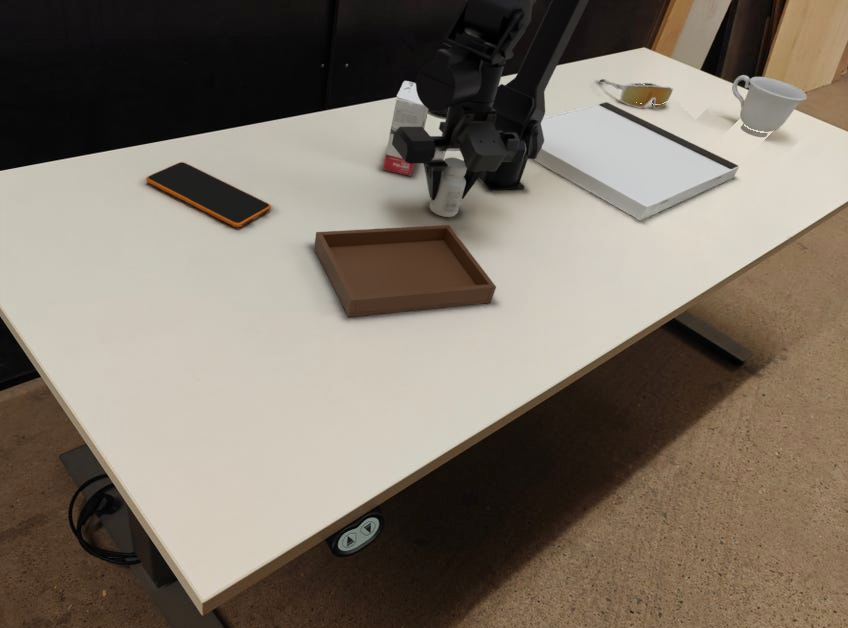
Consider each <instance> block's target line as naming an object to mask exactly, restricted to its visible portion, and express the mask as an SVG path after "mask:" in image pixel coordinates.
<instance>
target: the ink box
mask: <svg viewBox="0 0 848 628" xmlns="http://www.w3.org/2000/svg"><path fill="white" fill-rule="evenodd" d="M395 100H396V101H395V105H394V110H393V116H392V120H391V125H390V131H389V136H388V142H387V147H386V152H385V158H384V162H383V169H382V170H384V171H387V172H388V171H389V172H393V173H397V174H400V175H404V176H405V175H406V176H410V177H411V176H412V175H413V172H414V171H413V170H414V168H415V166H416V163H412V164H410V163H408V162H405V161H404V159H403V158H402V157H401V155H400V154H399V153H398V152H397V150H396V149H395V148H394V146H393V145H392V141H393V136H394V133H395V131H396V130H397V129H398V128H399V127H423V128H424V129H425V127H426V122H427V118H428V113H429V109H428V108H427V107H426V106H424V105H423V103H422V102H421V101H420V99H419V97H418V94H417V90H416V82H413V81H409V80H404V81H403V82H402V83H401V86H400V88H399V91H398V92H397V94H396V99H395Z"/></svg>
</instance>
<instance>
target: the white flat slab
mask: <svg viewBox="0 0 848 628" xmlns="http://www.w3.org/2000/svg"><path fill="white" fill-rule="evenodd" d="M541 127H542V132H543V136H544V143H543V145H542V148H541V150H540V151H539V153H538V154H537V157H536V159H532V160H533V161H535V162H537V164H540V165H542V166H543V167H545V168H547V169H549V170H550V171H552V172H554V173H556V174H558V175H559V176H561V177H563V178H565V179H566V180H568V181H569V182H572V183H574V184H575V185H577V186H579V187H581V188H582V189H584V190H586V191H587V192H589V193H591V194H593V195H594V196H596V197H598V198H599V199H602V200H603V201H605V202H606V203H608V204H610V205H612V206H613V207H616V208H617V209H619V210H621V211H623V212H624V213H626V214H628V215H630V216H631V217H633V218H635V219H637V220H638V221H643V220H645V219H647V218H649V217H652V216H654V215H656V214H658V213H660V212H662V211H664V210H666V209H668V208H671V207H673V206H675V205H677V204H680V203H682V202H684V201H686V200H688V199H690V198H693V197H695V196H697V195H699V194H701V193H704V192H705V191H708V190H711V189H712V188H714V187H716V186H719V185H721V184H723V183H724V182H727V181H729V180H731V179H733V178H734V177H735V175H736V174H737V172H738V170H739V169H740V166H739V165H738V164H736V163H734V162H732V161H730V160H728V159H725V158H723V157H722V156H720V155H718V154H716V153H714V152H711V151H709V150H707V149H705V148H703V147H701V146H699V145H697V144H695V143H693V142H691V141H689V140H686V139H684V138H682V137H680V136H678V135H676V134H674V133H672V132H670V131H668V130H666V129H663V128H662V127H659V126H657V125H655V124H653V123H651V122H649V121H647V120H645V119H642V118H640V117H639V116H636V115H635V114H632V113H630V112H628V111H626V110H624V109H622V108H620V107H617V106H615V105H614V104H612V103H610V102H605V101H604V102H601V103H597V104H591V105H589V106H584V107H579V108H575V109H572V110H567V111H564V112H559V113H556V114H551V115H547V116H544V117H543V119H542V122H541Z"/></svg>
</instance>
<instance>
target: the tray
mask: <svg viewBox="0 0 848 628" xmlns="http://www.w3.org/2000/svg"><path fill="white" fill-rule="evenodd" d="M313 249H314V250H315V253H316V255H317V257H318V259H319V261H320V263H321V265H322V267H323V268H324V271H325V273H326V275H327V277H328V279H329V281H330V283H331V285H332V287H333V289H334V292H335V293H336V295H337V297H338V299H339V301H340V303H341V306H342V307H343V310H344V311H345V313H346V315H347V317H348V318H352V317H361V316H372V315H381V314H382V315H383V314H390V313H391V314H392V313H401V312H411V311H420V310H430V309H440V308H442V309H443V308H450V307H459V306H460V307H462V306H469V305H470V306H471V305H480V304H488V303H489V304H490V303H492V301H493V297H494V295H495V292H496V289H497V285H495V283H494V282H493V281H492V280H491V278H490V277H489V276H488V274H487V272H486V271H485V270H484V269H483V268H482V267H481V265H480V263H478V261H477V260H476V258H475V257H474V256H473V255H472V253H471V251H470V250H469V249H468V248H467V246H466V245H465V244H464V243H463V241H462V240H461V238H459V236H458V234H456V232H455V231H454V229H452V227H451V226H450V225H449V224H443V225H423V226H405V227H403V226H402V227H387V228H367V229H350V230H349V229H348V230H347V229H346V230H329V231H327V230H326V231H316V232H315V238H314V247H313Z"/></svg>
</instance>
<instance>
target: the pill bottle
mask: <svg viewBox="0 0 848 628" xmlns="http://www.w3.org/2000/svg"><path fill="white" fill-rule="evenodd" d="M444 161H445V162H446V163H447V164H448V167H446V168H445V169H444V170H443V171H442V175H441V179H440V184H439V188H438V192H437V195H436V198H435V200H432V199H431V198H430V202H429V210H430V212H432V213H433V214H435V215H437V216H440V217H445V218H451V217H454V216H456V215H457V214H458V212H459V209H460V206H461V203H462V200H463V199H462V196H463V192H464V189H465V185H466V180H465V178H464V176H465V174H466V170H467V168H466V166H465V162H464V159H463V160H462V159H460V158H457V157H446V158H444Z"/></svg>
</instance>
